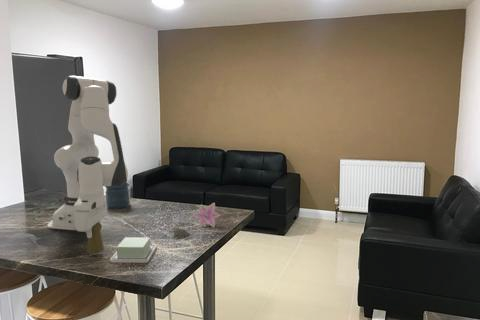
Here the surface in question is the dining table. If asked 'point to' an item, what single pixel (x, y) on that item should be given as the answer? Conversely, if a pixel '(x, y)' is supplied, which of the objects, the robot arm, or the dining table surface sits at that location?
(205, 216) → the lily
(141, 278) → the dining table surface
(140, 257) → the butter dish
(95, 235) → the cork
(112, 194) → the canister
